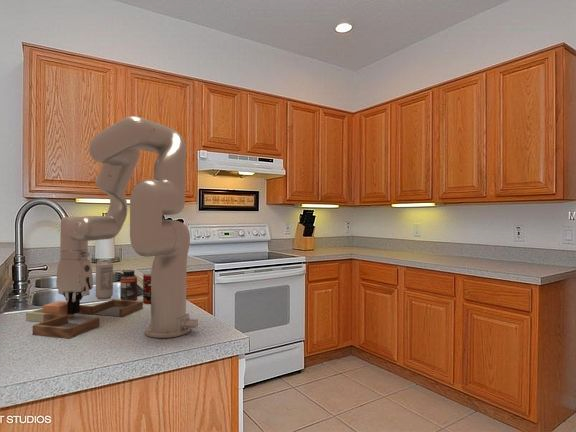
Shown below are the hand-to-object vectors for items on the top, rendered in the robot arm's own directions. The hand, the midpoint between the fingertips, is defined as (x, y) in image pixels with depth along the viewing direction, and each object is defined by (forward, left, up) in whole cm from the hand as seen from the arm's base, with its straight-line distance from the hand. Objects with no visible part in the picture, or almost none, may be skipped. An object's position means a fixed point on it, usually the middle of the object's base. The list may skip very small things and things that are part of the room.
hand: (73, 313), depth 116 cm
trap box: (-2, 0, -2) cm, 2 cm away
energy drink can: (+10, -26, -2) cm, 28 cm away
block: (+5, 0, -2) cm, 5 cm away
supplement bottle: (-1, -26, -2) cm, 26 cm away
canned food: (-12, -26, -2) cm, 29 cm away
